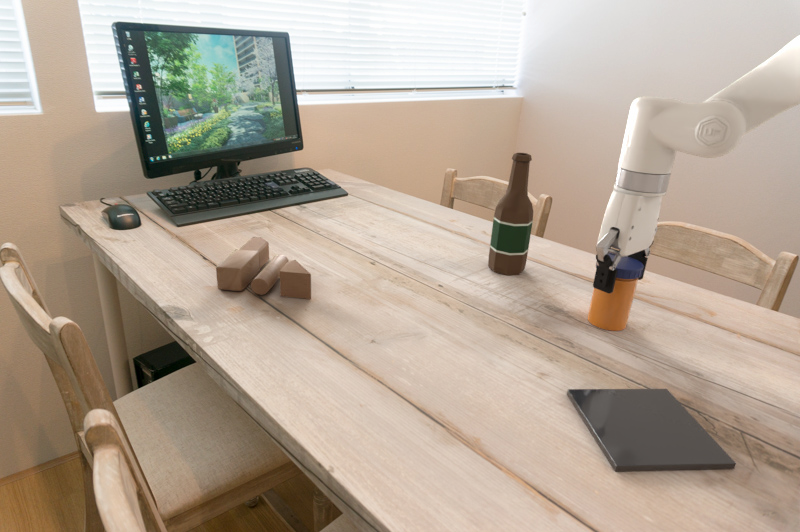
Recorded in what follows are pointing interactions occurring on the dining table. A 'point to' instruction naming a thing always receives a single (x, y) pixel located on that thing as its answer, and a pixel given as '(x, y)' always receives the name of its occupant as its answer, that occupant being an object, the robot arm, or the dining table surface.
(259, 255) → the wooden block set
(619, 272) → the jar lid
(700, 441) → the slate coaster
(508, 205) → the beer bottle
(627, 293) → the honey jar
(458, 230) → the dining table surface
